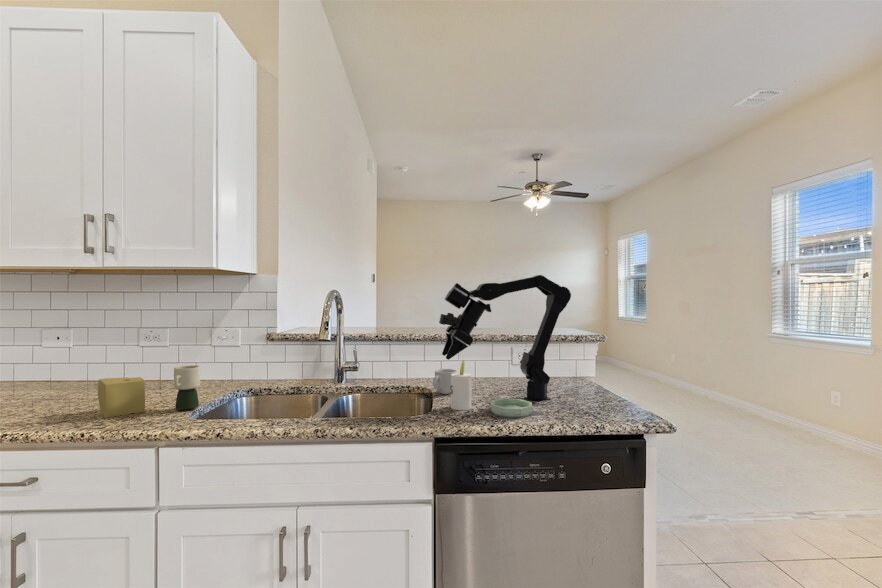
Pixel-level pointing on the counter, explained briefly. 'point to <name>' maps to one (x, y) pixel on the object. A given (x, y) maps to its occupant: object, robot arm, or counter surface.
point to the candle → (460, 390)
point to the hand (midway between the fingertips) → (445, 356)
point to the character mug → (187, 386)
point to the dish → (511, 407)
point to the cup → (443, 380)
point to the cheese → (121, 396)
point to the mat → (512, 417)
